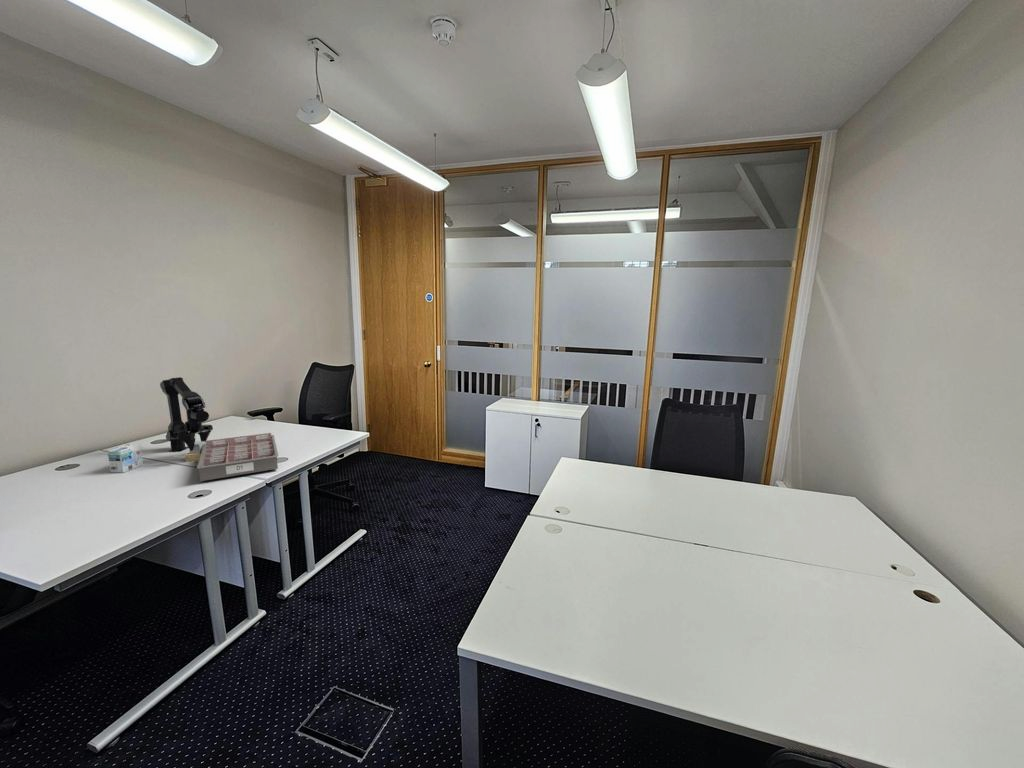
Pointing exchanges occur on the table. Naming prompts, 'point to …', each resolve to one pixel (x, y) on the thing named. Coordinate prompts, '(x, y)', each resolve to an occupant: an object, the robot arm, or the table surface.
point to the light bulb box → (125, 458)
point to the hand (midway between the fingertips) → (197, 447)
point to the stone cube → (197, 447)
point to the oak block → (192, 457)
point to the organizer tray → (237, 456)
